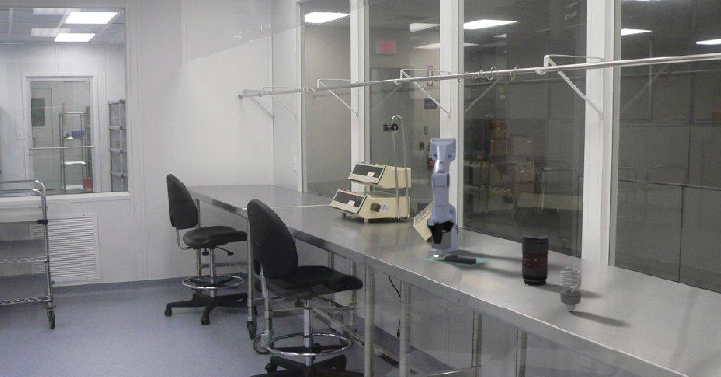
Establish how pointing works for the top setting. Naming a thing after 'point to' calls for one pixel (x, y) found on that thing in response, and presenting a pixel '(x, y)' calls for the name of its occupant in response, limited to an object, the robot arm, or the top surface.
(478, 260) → the mat
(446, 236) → the socket
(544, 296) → the top surface
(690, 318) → the top surface
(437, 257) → the metal vise
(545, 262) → the camera lens
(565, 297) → the light bulb
